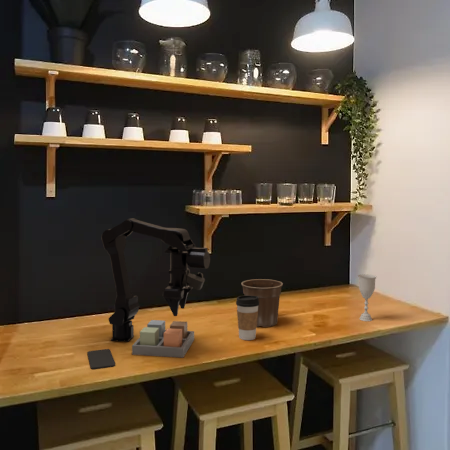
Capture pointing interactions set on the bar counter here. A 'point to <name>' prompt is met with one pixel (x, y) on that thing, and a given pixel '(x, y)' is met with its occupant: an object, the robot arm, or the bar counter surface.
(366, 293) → the chalice
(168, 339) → the terracotta block
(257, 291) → the plant pot
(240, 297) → the coffee cup
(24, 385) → the bar counter surface
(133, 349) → the grid tray
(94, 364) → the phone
